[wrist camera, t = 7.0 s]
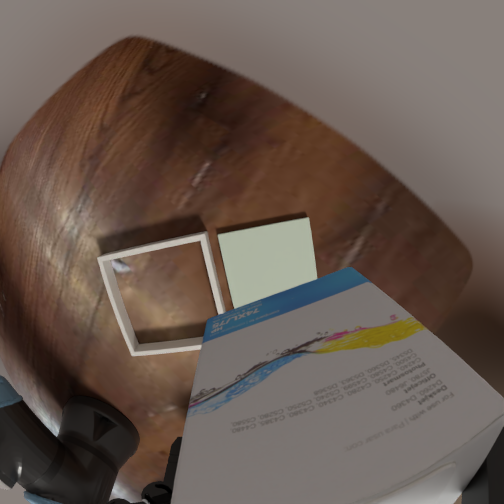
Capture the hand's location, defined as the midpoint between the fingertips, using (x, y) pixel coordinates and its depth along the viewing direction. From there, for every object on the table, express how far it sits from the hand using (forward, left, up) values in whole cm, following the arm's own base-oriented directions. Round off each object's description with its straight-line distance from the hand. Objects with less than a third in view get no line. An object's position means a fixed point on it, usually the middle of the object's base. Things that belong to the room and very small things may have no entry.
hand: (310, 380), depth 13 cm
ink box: (0, 0, -3) cm, 3 cm away
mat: (0, 0, -19) cm, 19 cm away
